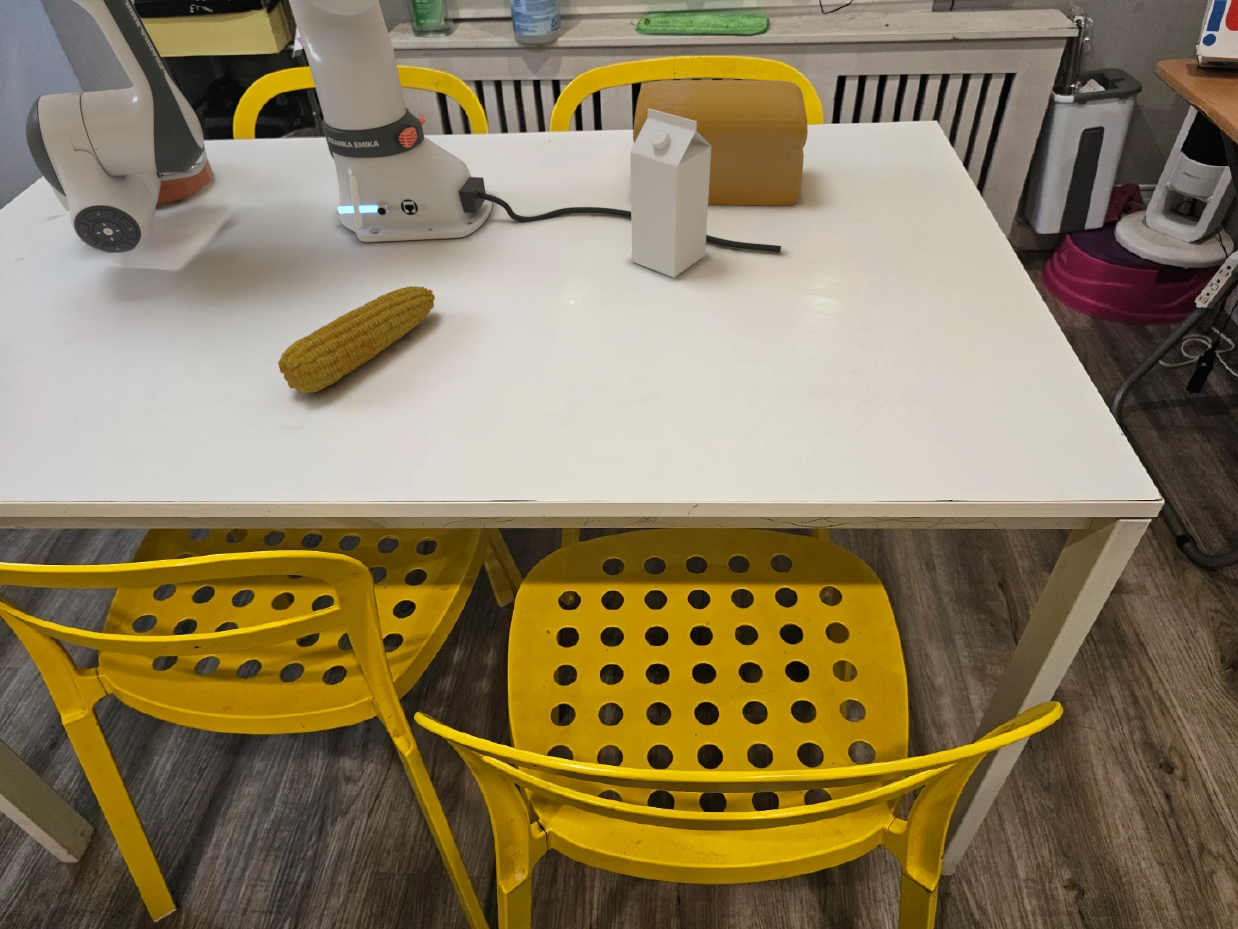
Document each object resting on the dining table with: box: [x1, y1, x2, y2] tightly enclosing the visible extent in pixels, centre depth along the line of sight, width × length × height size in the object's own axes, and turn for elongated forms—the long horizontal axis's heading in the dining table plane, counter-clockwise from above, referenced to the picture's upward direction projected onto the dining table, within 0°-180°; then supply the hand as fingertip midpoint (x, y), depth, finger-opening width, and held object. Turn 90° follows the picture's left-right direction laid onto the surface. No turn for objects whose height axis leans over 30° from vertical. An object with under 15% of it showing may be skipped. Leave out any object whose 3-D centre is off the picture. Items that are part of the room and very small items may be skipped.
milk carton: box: [630, 109, 712, 278], centre depth 100 cm, size 7×7×19 cm
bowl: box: [156, 157, 214, 206], centre depth 125 cm, size 16×16×5 cm
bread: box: [632, 79, 809, 207], centre depth 117 cm, size 24×13×15 cm, turn 85°
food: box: [277, 285, 436, 394], centre depth 91 cm, size 21×6×6 cm, turn 146°
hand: (133, 142), depth 118 cm, fingers open, 8 cm apart
